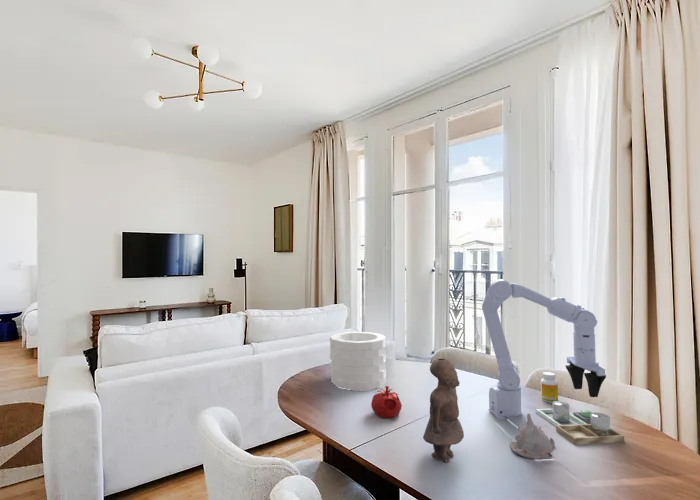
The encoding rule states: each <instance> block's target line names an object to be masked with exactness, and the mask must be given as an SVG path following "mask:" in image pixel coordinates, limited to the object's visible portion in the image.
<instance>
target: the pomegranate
mask: <svg viewBox="0 0 700 500" xmlns="http://www.w3.org/2000/svg"><path fill="white" fill-rule="evenodd" d="M384 388H385V390H384V389H383V388H380V389H379V390H377V391H375V392H374V393H376V394H374V395H373V396H372V399H371V405H370V406H371V409H372V412H374V414H375V415H376V416H378V417H379V418H383V419H393V418H395V417H397V416H399V414H400V412H401V410H402V406H403V405H402V402H401V400H400V398H399V396H398V395H399V393H396V392H393V388H389V385H384ZM391 391H392V392H391Z"/></svg>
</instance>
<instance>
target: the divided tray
mask: <svg viewBox="0 0 700 500" xmlns="http://www.w3.org/2000/svg"><path fill="white" fill-rule="evenodd" d="M555 431H556V432H557V433H558V434H560V435H561V436H562V437H564V438H565V439H566V440H568V441H569V442H571V443H572V444H573V445H587V444H589V445H590V444H606V443H607V444H609V443H611V444H612V443H624V442H625V435H623V433H622V434H621V433H620V432H618V431H616V430H614V429H613V428H611V427H610V434H611V436H598V435H596V434H595V433H593V432H591V424H581V425H570V424H561V425H559V426H555Z"/></svg>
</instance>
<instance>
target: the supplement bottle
mask: <svg viewBox="0 0 700 500" xmlns="http://www.w3.org/2000/svg"><path fill="white" fill-rule="evenodd" d="M558 388H559V386H558V381H557V379H556V373H553V372H550V371H544V372H542V378H541V380H540V399H541V400H542V401H543V402H546V403H551V404H552V402H554V401H559V389H558Z"/></svg>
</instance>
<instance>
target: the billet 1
mask: <svg viewBox="0 0 700 500" xmlns="http://www.w3.org/2000/svg"><path fill="white" fill-rule="evenodd" d="M551 404H552V405H551V407H552V409H553V413H552V419H553V420H555V421H556V422H558V423H559V424H560V423H561V424H569V423H570V421H571V420H570V419H571V418H570V404H569V403H568V402H565V401H559V400H558V401H554V402H552V403H551Z"/></svg>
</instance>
